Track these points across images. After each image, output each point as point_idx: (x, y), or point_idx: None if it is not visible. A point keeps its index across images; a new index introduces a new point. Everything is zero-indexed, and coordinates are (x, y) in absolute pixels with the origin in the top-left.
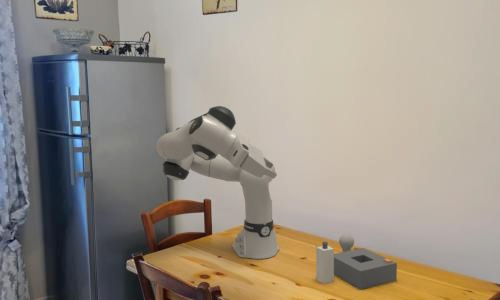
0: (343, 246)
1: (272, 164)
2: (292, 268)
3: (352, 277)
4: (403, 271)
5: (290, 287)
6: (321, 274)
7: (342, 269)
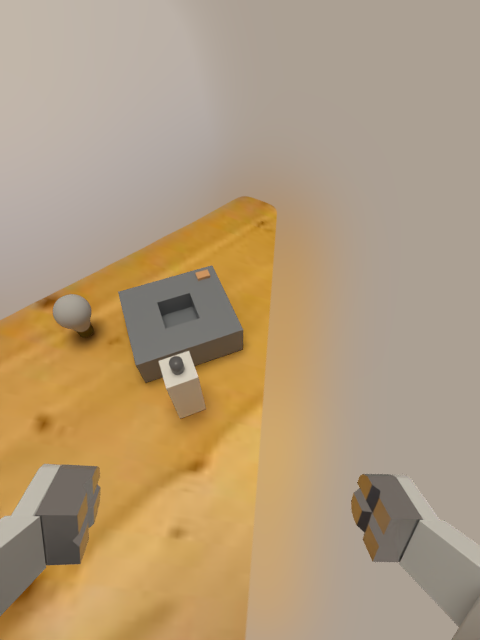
0: (83, 324)
1: (95, 472)
2: (99, 463)
3: (220, 348)
4: (179, 267)
5: (212, 489)
6: (197, 404)
7: None
